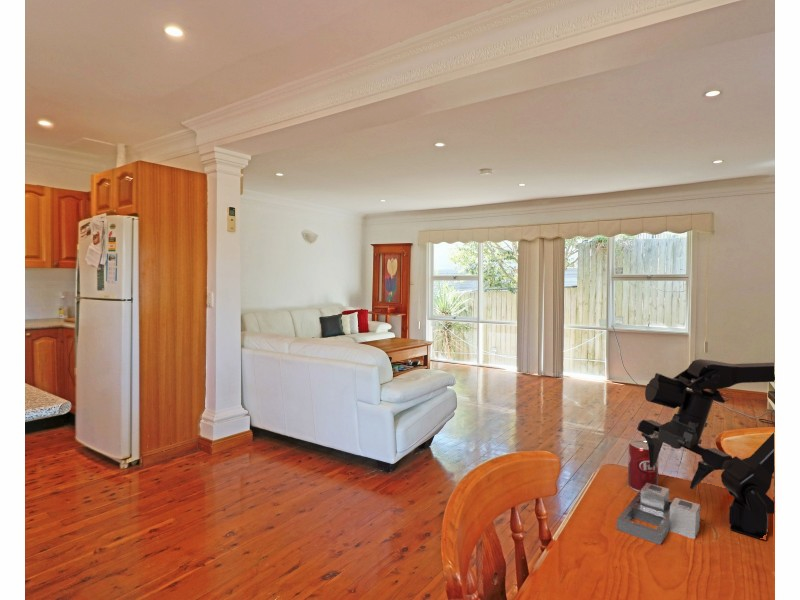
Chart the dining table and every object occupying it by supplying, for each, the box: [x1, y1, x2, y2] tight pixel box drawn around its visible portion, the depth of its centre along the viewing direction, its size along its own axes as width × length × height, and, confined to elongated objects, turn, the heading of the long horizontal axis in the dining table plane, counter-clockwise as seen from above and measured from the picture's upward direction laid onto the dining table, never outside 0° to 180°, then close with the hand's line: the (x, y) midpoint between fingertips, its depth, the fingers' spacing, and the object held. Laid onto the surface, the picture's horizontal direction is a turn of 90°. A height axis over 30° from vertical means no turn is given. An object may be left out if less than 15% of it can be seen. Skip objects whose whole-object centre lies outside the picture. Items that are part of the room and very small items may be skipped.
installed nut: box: [640, 483, 670, 513], centre depth 112 cm, size 5×5×6 cm
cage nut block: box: [669, 497, 701, 540], centre depth 105 cm, size 5×5×6 cm
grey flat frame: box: [616, 491, 674, 546], centre depth 109 cm, size 9×18×2 cm, turn 138°
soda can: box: [627, 439, 660, 493], centre depth 126 cm, size 7×7×12 cm
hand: (670, 477), depth 107 cm, fingers open, 9 cm apart
